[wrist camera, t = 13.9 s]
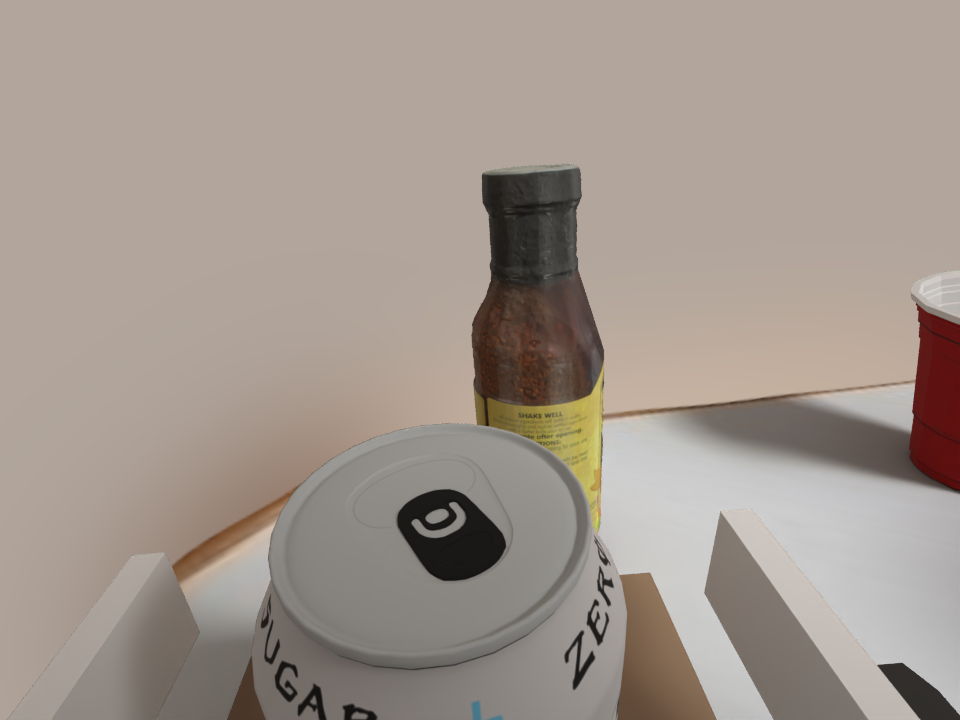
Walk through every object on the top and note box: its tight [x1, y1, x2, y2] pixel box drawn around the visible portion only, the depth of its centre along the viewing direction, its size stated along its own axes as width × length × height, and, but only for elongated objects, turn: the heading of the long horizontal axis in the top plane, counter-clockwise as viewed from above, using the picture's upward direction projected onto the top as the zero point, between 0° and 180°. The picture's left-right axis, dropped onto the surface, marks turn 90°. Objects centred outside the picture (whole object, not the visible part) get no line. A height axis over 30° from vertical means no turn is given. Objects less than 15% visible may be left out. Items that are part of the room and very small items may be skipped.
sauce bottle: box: [472, 164, 604, 533], centre depth 24 cm, size 6×6×20 cm
